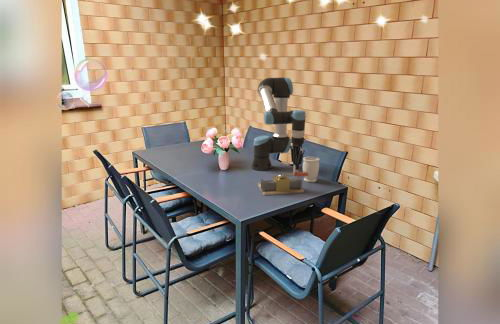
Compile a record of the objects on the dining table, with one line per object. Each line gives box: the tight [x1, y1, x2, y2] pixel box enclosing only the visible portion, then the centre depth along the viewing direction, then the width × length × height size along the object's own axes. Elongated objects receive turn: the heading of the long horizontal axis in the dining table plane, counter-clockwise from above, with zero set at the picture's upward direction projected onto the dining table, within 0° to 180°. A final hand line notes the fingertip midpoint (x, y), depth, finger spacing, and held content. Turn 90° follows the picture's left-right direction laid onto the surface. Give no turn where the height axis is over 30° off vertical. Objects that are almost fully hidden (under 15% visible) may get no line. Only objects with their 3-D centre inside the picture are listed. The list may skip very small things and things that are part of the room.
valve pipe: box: [260, 175, 303, 192], centre depth 214 cm, size 8×24×8 cm, turn 100°
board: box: [257, 182, 305, 196], centre depth 219 cm, size 18×25×1 cm
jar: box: [302, 156, 320, 183], centre depth 231 cm, size 11×10×15 cm
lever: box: [277, 171, 308, 178], centre depth 213 cm, size 18×4×2 cm, turn 95°
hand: (295, 174), depth 215 cm, fingers closed
